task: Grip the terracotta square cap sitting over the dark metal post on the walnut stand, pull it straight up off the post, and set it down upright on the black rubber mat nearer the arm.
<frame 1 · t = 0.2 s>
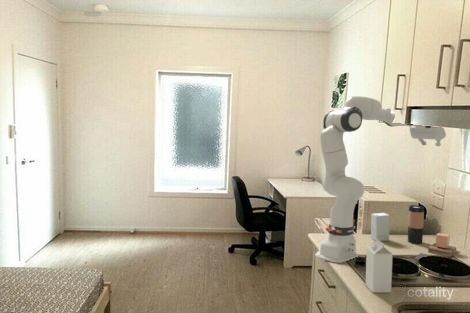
hand: (431, 145, 196), 54 cm above the counter, tool tilted 30°, fingers open, 8 cm apart
post stand: (442, 251, 185), on the counter
travel mug: (414, 242, 200), on the counter
cap: (442, 246, 185), point 3 cm above the counter, touching post stand
milk carton: (377, 289, 140), on the counter
skincare box: (379, 240, 204), on the counter
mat: (428, 259, 174), on the counter
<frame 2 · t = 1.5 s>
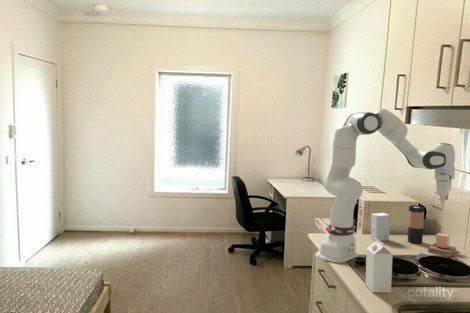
hand: (444, 201, 184), 26 cm above the counter, tool pointing down, fingers open, 8 cm apart
nothing on the counter moved.
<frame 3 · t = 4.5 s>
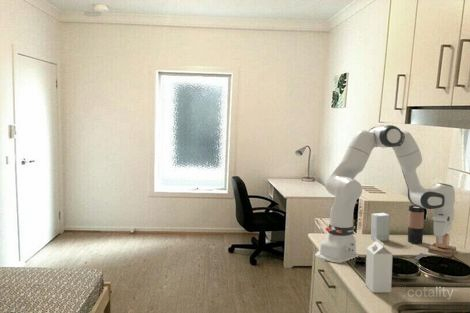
hand: (442, 241, 184), 5 cm above the counter, tool pointing down, fingers closed on cap, 5 cm apart
cap: (442, 246, 185), point 3 cm above the counter, touching gripper, post stand
everything else where it was.
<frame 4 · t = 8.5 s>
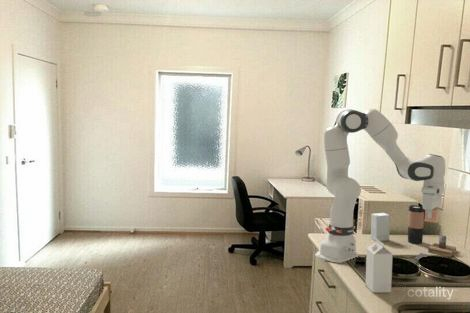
hand: (431, 216, 174), 20 cm above the counter, tool pointing down, fingers closed on cap, 5 cm apart
cap: (431, 221, 174), point 18 cm above the counter, touching gripper
everything else where it was.
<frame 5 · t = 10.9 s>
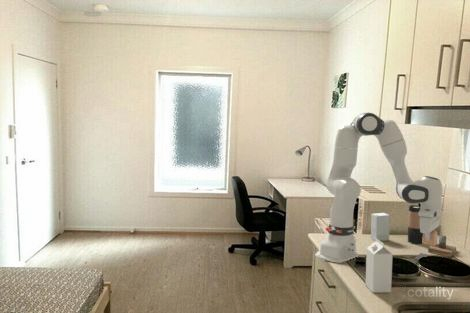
hand: (429, 238, 173), 10 cm above the counter, tool pointing down, fingers closed on cap, 5 cm apart
cap: (429, 243, 173), point 8 cm above the counter, touching gripper
everything else where it was.
when the fingers open (4 cm above the counter, at t = 12.9 s): cap drops 1 cm, resting on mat.
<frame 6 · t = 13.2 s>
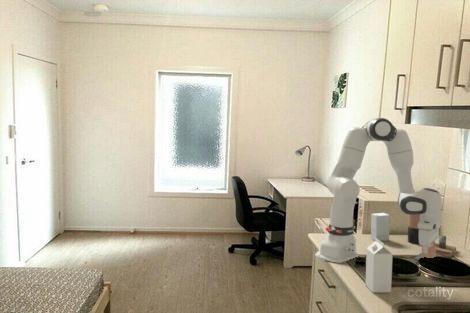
hand: (428, 250, 173), 4 cm above the counter, tool pointing down, fingers open, 8 cm apart
cap: (428, 258, 174), resting on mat
everything else where it was.
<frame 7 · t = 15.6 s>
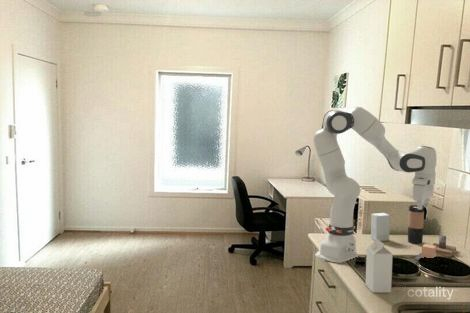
hand: (422, 208, 175), 24 cm above the counter, tool pointing down, fingers open, 8 cm apart
nothing on the counter moved.
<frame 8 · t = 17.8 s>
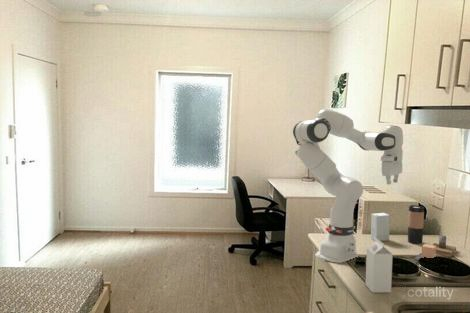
hand: (392, 183, 188), 34 cm above the counter, tool pointing down, fingers open, 8 cm apart
nothing on the counter moved.
at the end: cap inside the target area (0.0 cm from its centre), resting on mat; cap tilted 0°; cap touching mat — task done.
